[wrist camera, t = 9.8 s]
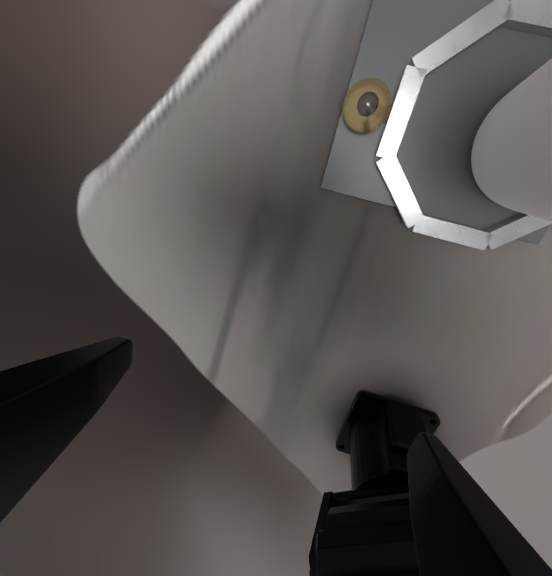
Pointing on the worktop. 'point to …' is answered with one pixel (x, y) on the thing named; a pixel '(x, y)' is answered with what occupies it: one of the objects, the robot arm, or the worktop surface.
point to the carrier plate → (434, 109)
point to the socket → (500, 13)
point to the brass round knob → (366, 105)
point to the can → (518, 148)
